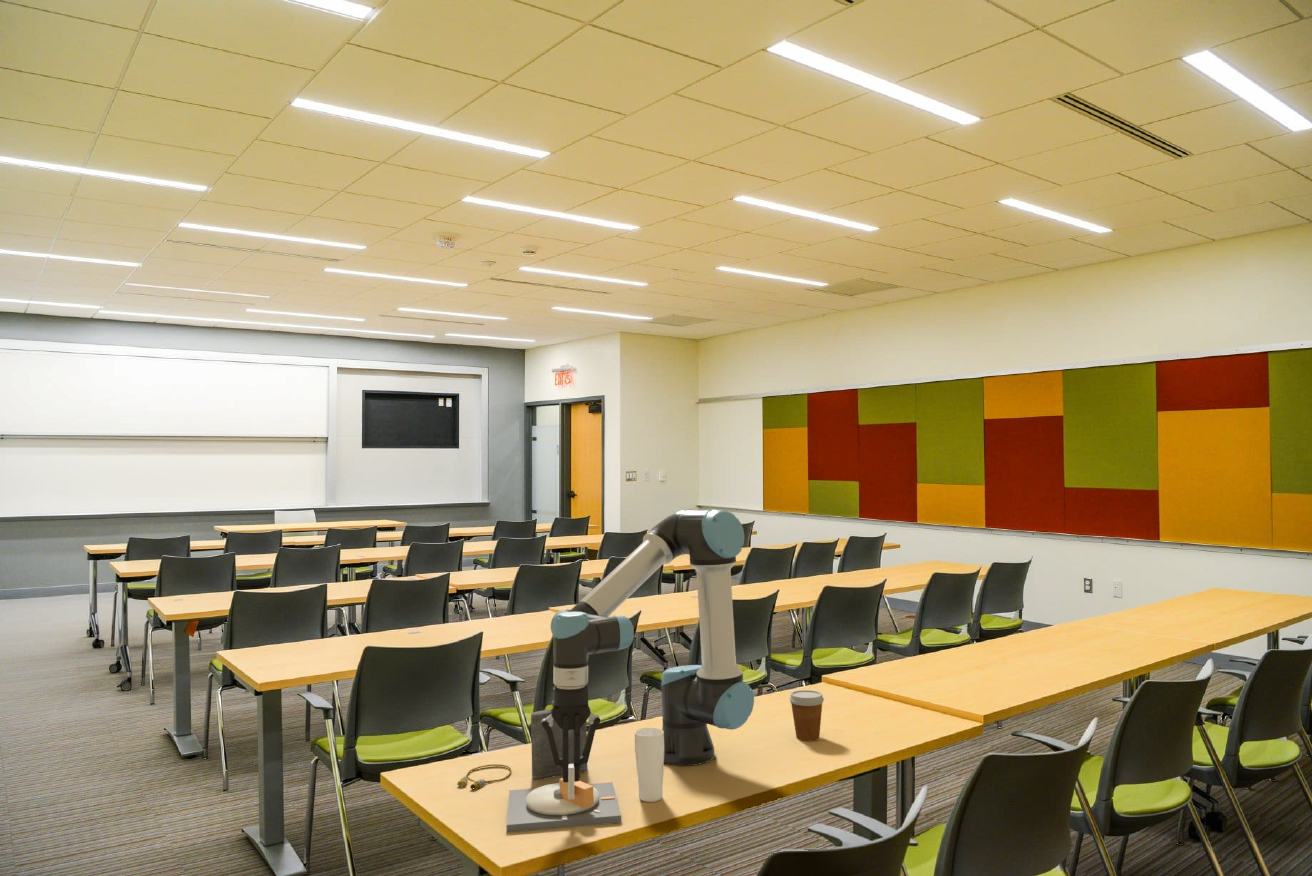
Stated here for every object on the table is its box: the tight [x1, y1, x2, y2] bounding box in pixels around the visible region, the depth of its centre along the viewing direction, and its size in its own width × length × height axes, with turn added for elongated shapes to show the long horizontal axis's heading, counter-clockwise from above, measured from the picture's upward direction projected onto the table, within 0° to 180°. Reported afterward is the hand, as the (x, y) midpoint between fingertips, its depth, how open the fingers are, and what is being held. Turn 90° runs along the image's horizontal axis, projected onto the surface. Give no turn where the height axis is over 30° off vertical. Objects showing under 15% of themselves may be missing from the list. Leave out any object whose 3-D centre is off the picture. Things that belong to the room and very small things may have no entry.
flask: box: [530, 700, 589, 781], centre depth 210 cm, size 4×14×18 cm, turn 116°
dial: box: [526, 777, 599, 815], centre depth 186 cm, size 18×16×5 cm
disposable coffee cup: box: [788, 689, 825, 742], centre depth 233 cm, size 10×10×12 cm
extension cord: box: [456, 763, 512, 791], centre depth 208 cm, size 12×16×2 cm
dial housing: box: [506, 781, 622, 833], centre depth 187 cm, size 24×20×2 cm
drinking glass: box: [634, 727, 665, 803], centre depth 192 cm, size 7×7×15 cm
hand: (571, 796), depth 180 cm, fingers closed
